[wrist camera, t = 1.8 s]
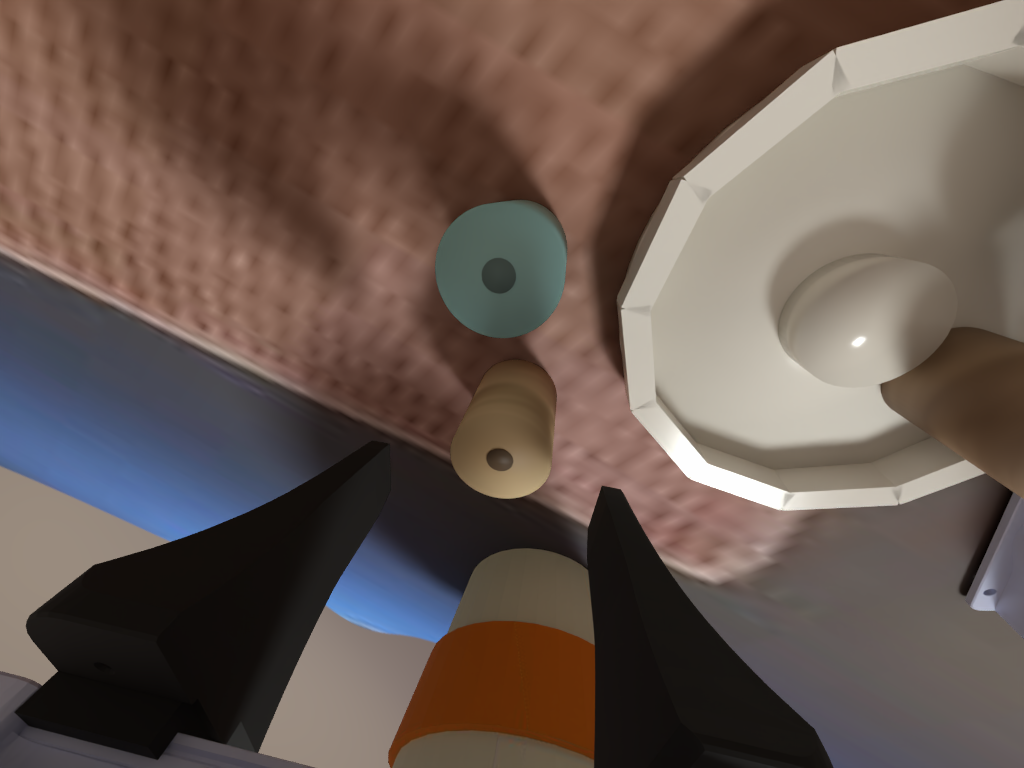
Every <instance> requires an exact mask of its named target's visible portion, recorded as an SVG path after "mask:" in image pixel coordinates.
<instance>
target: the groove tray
mask: <svg viewBox="0 0 1024 768" xmlns="http://www.w3.org/2000/svg"><path fill="white" fill-rule="evenodd" d="M672 179H673V180H671V181H670V182H669V184H668V187H667V189H666V191H665V193H664V195H663V197H662V200H661V201H660V203H659V204H658V206H657V207H656V209H655V210H654V212H653V213H652V215H651V217H650V219H649V221H648V223H647V225H646V227H645V229H644V231H643V232H642V234H641V236H640V238H639V240H638V243H637V245H636V248H635V250H634V253H633V256H632V258H631V261H630V263H629V266H628V269H627V273H626V277H625V280H624V283H623V285H622V287H621V289H620V291H619V294H618V296H617V309H618V319H619V343H620V349H621V354H622V360H623V369H624V379H625V389H626V395H627V399H628V403H629V406H630V410H631V412H632V413H633V414H634V416H635V417H636V418H637V419H638V420H639V421H640V423H641V424H642V425H643V426H644V427H645V428H646V429H647V431H648V432H649V433H650V434H651V435H652V436H653V438H654V439H655V440H656V441H657V442H658V443H659V445H660V446H661V447H662V448H663V449H664V450H665V451H666V453H667V454H668V455H669V456H670V457H671V458H672V460H673V461H674V462H675V463H676V464H677V465H678V467H679V468H680V469H681V470H682V471H683V472H684V473H685V475H686V476H687V477H688V478H690V479H692V480H694V481H697V482H700V483H703V484H706V485H709V486H712V487H715V488H717V489H720V490H723V491H726V492H729V493H732V494H735V495H738V496H740V497H743V498H746V499H749V500H752V501H755V502H758V503H761V504H763V505H766V506H769V507H772V508H775V509H778V510H781V509H782V511H785V510H806V509H826V508H847V507H868V506H889V505H898V503H899V504H903V503H906V502H909V501H911V500H914V499H917V498H919V497H922V496H925V495H928V494H930V493H933V492H936V491H938V490H941V489H944V488H946V487H949V486H952V485H955V484H957V483H960V482H963V481H965V480H968V479H971V478H973V477H976V476H979V475H982V474H984V473H985V472H983V471H982V470H980V469H979V468H977V467H976V466H974V465H973V464H971V463H970V462H968V461H967V460H966V459H964V458H963V457H961V456H960V455H958V454H957V453H955V452H954V451H952V450H951V449H949V448H948V447H946V446H945V445H943V444H942V443H941V442H939V441H938V440H936V439H935V438H933V437H932V436H930V435H929V434H927V433H926V432H924V431H923V430H921V429H920V428H918V427H917V426H915V425H914V424H913V423H911V422H910V421H908V420H907V419H905V418H904V417H902V416H901V415H899V414H898V413H896V412H895V411H893V410H892V409H891V408H890V407H888V406H887V404H886V403H885V402H884V400H883V398H882V394H881V383H884V382H887V381H890V380H892V379H895V378H897V377H899V376H901V375H903V374H905V373H907V372H909V371H911V370H912V369H914V368H915V367H917V366H918V365H920V364H921V363H922V362H924V361H925V360H926V359H927V358H928V357H930V356H931V355H932V354H933V353H934V352H935V351H936V350H937V348H938V347H939V346H940V345H941V344H942V343H943V341H944V340H945V338H946V337H947V335H948V334H949V332H950V330H951V328H957V327H974V328H980V329H983V330H987V331H990V332H993V333H996V334H999V335H1002V336H1005V337H1008V338H1011V339H1014V340H1017V341H1020V342H1023V343H1024V0H1003V1H1000V2H996V3H992V4H989V5H985V6H982V7H978V8H975V9H971V10H968V11H964V12H961V13H957V14H954V15H950V16H947V17H943V18H940V19H936V20H933V21H929V22H925V23H922V24H918V25H915V26H911V27H908V28H904V29H901V30H897V31H894V32H890V33H887V34H883V35H880V36H876V37H873V38H869V39H866V40H862V41H859V42H855V43H851V44H848V45H844V46H841V47H837V48H835V49H833V50H832V51H830V52H828V53H826V54H824V55H822V56H821V57H819V58H817V59H815V60H813V61H812V62H810V63H808V64H806V65H804V66H802V67H801V68H800V69H799V70H797V71H796V72H795V73H794V74H793V75H792V76H790V77H789V78H788V79H787V80H786V81H785V82H783V83H782V84H781V85H780V86H779V87H778V88H776V89H775V90H774V91H773V92H772V93H771V94H770V95H768V96H767V97H766V98H765V99H764V100H763V101H761V102H760V103H758V104H757V105H755V106H754V107H753V108H751V109H750V110H749V111H747V112H746V113H745V114H744V115H742V116H741V117H740V118H738V119H737V120H736V121H734V122H733V123H732V124H731V125H729V126H728V127H727V128H725V129H724V130H723V131H722V132H721V133H720V134H719V135H718V136H717V137H716V138H715V139H714V140H712V141H711V142H710V143H709V144H708V145H707V146H706V147H705V148H704V149H703V150H702V151H701V152H700V153H699V154H698V155H697V156H696V157H695V158H694V159H693V160H692V161H691V162H690V163H689V164H688V165H687V166H686V167H684V168H683V169H682V170H681V171H680V172H679V173H677V174H676V175H675V176H674V177H673V178H672Z"/></svg>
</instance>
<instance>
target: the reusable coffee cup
mask: <svg viewBox="0 0 1024 768" xmlns="http://www.w3.org/2000/svg"><path fill="white" fill-rule="evenodd" d="M594 741H595V642H594V628H593V617H592V607H591V596H590V586H589V575H588V570H587V569H586V568H584V567H583V566H582V565H581V564H579V563H577V562H575V561H574V560H572V559H570V558H568V557H565V556H563V555H560V554H557V553H554V552H550V551H546V550H541V549H531V548H521V549H510V550H505V551H501V552H498V553H495V554H493V555H490V556H489V557H487V558H486V559H484V560H482V561H481V562H480V563H479V564H478V565H477V566H476V567H475V569H474V571H473V573H472V575H471V577H470V580H469V582H468V584H467V587H466V589H465V592H464V594H463V597H462V599H461V601H460V604H459V606H458V609H457V611H456V614H455V616H454V618H453V621H452V623H451V626H450V628H449V631H448V633H447V634H446V635H445V636H444V637H442V638H441V639H440V640H439V641H438V642H437V643H436V645H435V647H434V649H433V650H432V652H431V655H430V657H429V659H428V662H427V664H426V666H425V669H424V671H423V673H422V676H421V678H420V680H419V682H418V685H417V687H416V690H415V692H414V694H413V696H412V699H411V701H410V703H409V706H408V708H407V710H406V713H405V715H404V717H403V720H402V722H401V724H400V727H399V729H398V731H397V734H396V736H395V738H394V741H393V743H392V745H391V748H390V750H389V755H388V756H389V757H388V759H389V761H388V763H389V765H390V767H391V768H594Z"/></svg>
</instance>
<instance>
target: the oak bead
mask: <svg viewBox="0 0 1024 768" xmlns="http://www.w3.org/2000/svg"><path fill="white" fill-rule="evenodd" d="M556 400H557V393H556V388H555V385H554V382H553V381H552V379H551V377H550V376H549V375H548V373H547V372H546V371H544V370H543V369H542V368H541V367H539V366H538V365H536V364H534V363H531V362H528V361H525V360H515V359H514V360H506V361H503V362H500V363H498V364H496V365H494V366H493V367H491V368H490V369H489V370H488V371H487V372H486V373H485V375H484V376H483V378H482V380H481V382H480V384H479V386H478V388H477V390H476V393H475V395H474V397H473V399H472V401H471V403H470V405H469V407H468V409H467V411H466V413H465V415H464V417H463V419H462V421H461V423H460V425H459V427H458V429H457V432H456V434H455V436H454V438H453V440H452V443H451V447H450V456H451V461H452V465H453V467H454V469H455V471H456V472H457V474H458V475H459V477H460V478H461V479H462V480H463V481H464V482H465V483H466V484H467V485H469V486H470V487H471V488H473V489H474V490H476V491H478V492H480V493H482V494H485V495H488V496H491V497H496V498H504V499H511V498H519V497H523V496H526V495H529V494H531V493H533V492H534V491H536V490H537V489H539V488H540V487H541V486H542V485H543V484H544V482H545V481H546V480H547V478H548V476H549V473H550V470H551V464H552V451H553V438H554V426H555V413H556Z"/></svg>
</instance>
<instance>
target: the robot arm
mask: <svg viewBox="0 0 1024 768" xmlns="http://www.w3.org/2000/svg"><path fill="white" fill-rule="evenodd" d="M390 490H391V474H390V444H387V443H382V442H377V441H371V442H369V443H368V444H366V445H365V446H363V447H361V448H360V449H358V450H357V451H355V452H354V453H352V454H351V455H349V456H348V457H346V458H344V459H343V460H341V461H340V462H338V463H337V464H335V465H334V466H332V467H330V468H329V469H327V470H326V471H324V472H322V473H321V474H319V475H317V476H316V477H314V478H312V479H311V480H309V481H307V482H305V483H304V484H302V485H300V486H298V487H297V488H295V489H293V490H291V491H290V492H288V493H286V494H284V495H282V496H280V497H278V498H276V499H274V500H272V501H270V502H268V503H266V504H264V505H262V506H260V507H258V508H256V509H254V510H251V511H249V512H247V513H245V514H242V515H240V516H237V517H235V518H233V519H230V520H228V521H225V522H223V523H221V524H218V525H216V526H213V527H211V528H208V529H206V530H203V531H200V532H198V533H195V534H192V535H189V536H187V537H184V538H181V539H178V540H175V541H172V542H169V543H166V544H163V545H161V546H157V547H154V548H151V549H148V550H144V551H141V552H137V553H134V554H131V555H127V556H124V557H120V558H117V559H113V560H110V561H107V562H103V563H99V564H95V565H94V566H92V567H91V568H90V569H88V570H87V571H86V572H84V573H83V574H82V575H81V576H79V577H78V578H77V579H76V580H74V581H73V582H72V583H70V584H69V585H68V586H67V587H65V588H64V589H63V590H61V591H60V592H59V593H58V594H56V595H55V596H54V597H53V598H51V599H50V600H49V601H47V602H46V603H45V604H44V605H42V606H41V607H40V608H38V609H37V610H36V611H35V612H34V613H32V614H31V615H30V616H29V618H28V620H27V623H26V629H27V633H28V634H29V636H30V638H31V639H32V640H33V642H34V643H35V644H36V645H37V647H38V648H39V649H40V650H41V651H42V653H43V654H44V655H45V656H46V657H47V658H48V660H49V661H50V662H51V663H52V664H53V665H54V667H55V668H56V669H57V670H58V672H57V673H56V674H55V675H54V676H52V677H51V678H50V679H49V680H48V681H47V682H46V683H45V684H44V685H43V686H41V685H40V684H39V683H37V682H35V681H33V680H30V679H28V678H25V677H21V676H17V675H13V674H9V673H5V672H1V671H0V768H314V767H310V766H306V765H303V764H299V763H295V762H291V761H287V760H283V759H279V758H275V757H272V756H268V755H264V754H260V753H258V752H259V749H260V747H261V744H262V742H263V740H264V737H265V735H266V733H267V730H268V728H269V725H270V723H271V721H272V719H273V716H274V714H275V712H276V709H277V707H278V704H279V702H280V700H281V698H282V695H283V693H284V691H285V689H286V686H287V684H288V682H289V680H290V678H291V676H292V673H293V671H294V669H295V666H296V664H297V662H298V660H299V658H300V656H301V654H302V651H303V649H304V647H305V645H306V643H307V641H308V639H309V637H310V635H311V633H312V631H313V629H314V627H315V625H316V623H317V621H318V619H319V617H320V614H321V613H322V611H323V609H324V607H325V605H326V603H327V601H328V599H329V597H330V595H331V593H332V591H333V589H334V587H335V586H336V584H337V582H338V580H339V579H340V577H341V575H342V574H343V572H344V571H345V569H346V567H347V566H348V564H349V563H350V561H351V559H352V558H353V556H354V555H355V553H356V551H357V550H358V548H359V547H360V545H361V544H362V542H363V540H364V539H365V537H366V536H367V534H368V532H369V531H370V529H371V527H372V526H373V524H374V523H375V521H376V519H377V518H378V516H379V514H380V512H381V510H382V508H383V506H384V503H385V501H386V499H387V497H388V495H389V492H390ZM587 564H588V575H589V586H590V596H591V607H592V617H593V628H594V642H595V741H594V768H833V766H832V763H831V761H830V759H829V756H828V754H827V752H826V750H825V748H824V746H823V745H822V743H821V741H820V739H819V737H818V735H817V733H816V731H815V729H814V728H813V727H812V726H810V725H809V724H808V723H807V722H806V721H805V720H804V719H803V718H802V717H801V716H800V715H799V714H797V713H796V712H795V711H794V710H793V709H792V708H791V707H790V706H789V705H788V704H787V703H786V702H784V701H783V700H782V699H781V698H780V697H779V696H778V695H777V694H776V693H775V692H774V691H773V690H772V689H770V688H769V687H768V686H767V685H766V684H765V683H764V682H763V681H762V680H761V679H760V678H759V677H758V676H757V675H756V674H755V673H754V672H753V671H752V670H751V669H750V667H749V666H748V665H747V664H746V663H745V662H744V661H743V660H742V659H741V658H740V657H739V656H738V655H737V654H736V653H735V652H734V651H733V650H732V649H731V648H730V647H729V645H728V644H727V643H726V642H725V641H724V640H723V639H722V638H721V636H720V635H719V634H718V633H717V632H716V631H715V630H714V628H713V627H712V626H711V625H710V624H709V623H708V622H707V621H706V619H705V618H704V617H703V616H702V614H701V613H700V612H699V611H698V610H697V608H696V607H695V606H694V605H693V603H692V602H691V601H690V599H689V598H688V597H687V596H686V594H685V593H684V592H683V590H682V589H681V588H680V586H679V585H678V583H677V582H676V581H675V579H674V578H673V576H672V575H671V573H670V572H669V570H668V569H667V567H666V566H665V564H664V563H663V562H662V560H661V558H660V557H659V555H658V554H657V552H656V551H655V549H654V547H653V546H652V544H651V542H650V541H649V539H648V537H647V536H646V534H645V532H644V531H643V529H642V527H641V525H640V524H639V522H638V520H637V518H636V516H635V514H634V513H633V511H632V509H631V507H630V505H629V503H628V501H627V499H626V497H625V496H624V494H623V492H622V491H621V489H616V488H611V487H606V486H602V487H601V490H600V493H599V497H598V500H597V503H596V506H595V509H594V512H593V515H592V518H591V521H590V524H589V527H588V541H587ZM965 601H966V602H967V603H968V605H969V606H970V607H971V608H972V609H975V610H980V611H996V612H997V613H998V614H999V615H1000V616H1001V617H1002V618H1003V619H1004V620H1005V621H1006V622H1007V623H1008V624H1009V625H1010V626H1011V627H1012V628H1013V629H1014V630H1015V631H1016V632H1017V633H1018V634H1019V635H1020V636H1021V637H1022V638H1023V639H1024V499H1023V498H1021V497H1020V496H1019V495H1017V494H1016V493H1014V492H1013V494H1012V496H1011V499H1010V501H1009V503H1008V505H1007V507H1006V510H1005V512H1004V514H1003V516H1002V518H1001V521H1000V523H999V525H998V527H997V530H996V532H995V534H994V536H993V538H992V541H991V543H990V545H989V547H988V549H987V552H986V554H985V556H984V558H983V560H982V563H981V565H980V567H979V569H978V572H977V574H976V576H975V578H974V580H973V583H972V585H971V587H970V589H969V591H968V594H967V596H966V598H965Z"/></svg>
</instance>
